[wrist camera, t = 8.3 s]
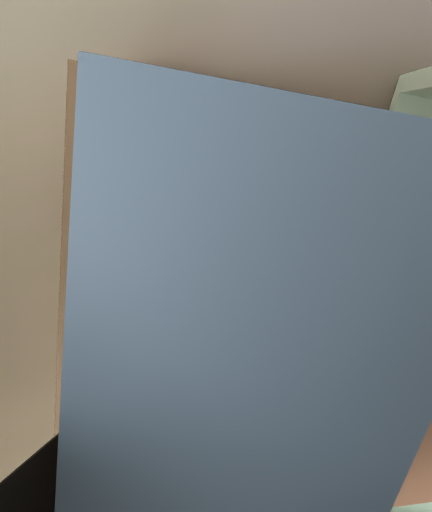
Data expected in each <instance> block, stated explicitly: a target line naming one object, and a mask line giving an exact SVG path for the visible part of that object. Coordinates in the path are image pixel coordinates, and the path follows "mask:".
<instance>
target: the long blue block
mask: <svg viewBox="0 0 432 512" xmlns="http://www.w3.org/2000/svg"><path fill="white" fill-rule="evenodd" d="M431 421H432V118H427V117H422V116H416V115H411V114H406V113H401V112H395V111H390V110H385V109H380V108H375V107H369V106H364V105H359V104H354V103H349V102H343V101H338V100H333V99H328V98H322V97H317V96H312V95H307V94H302V93H296V92H291V91H286V90H281V89H275V88H270V87H265V86H260V85H255V84H249V83H244V82H239V81H234V80H229V79H223V78H218V77H213V76H208V75H202V74H197V73H192V72H187V71H182V70H176V69H171V68H166V67H161V66H155V65H150V64H145V63H140V62H135V61H129V60H124V59H119V58H114V57H109V56H103V55H98V54H93V53H88V52H82V51H78V65H77V85H76V104H75V124H74V143H73V163H72V182H71V202H70V221H69V241H68V260H67V280H66V299H65V319H64V338H63V358H62V377H61V397H60V416H59V436H58V455H57V475H56V494H55V512H391V509H392V507H393V505H394V503H395V501H396V498H397V496H398V494H399V492H400V489H401V487H402V485H403V483H404V481H405V478H406V476H407V474H408V472H409V469H410V467H411V465H412V463H413V461H414V458H415V456H416V454H417V452H418V450H419V447H420V445H421V443H422V441H423V438H424V436H425V434H426V432H427V430H428V427H429V425H430V423H431Z"/></svg>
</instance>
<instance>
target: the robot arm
mask: <svg viewBox="0 0 432 512" xmlns="http://www.w3.org/2000/svg"><path fill="white" fill-rule="evenodd" d="M58 436H59V433H58V434H57V435H56V436H54V437H53V438H52V439H51V440H50V441H49V442H47V443H46V444H45V445H44V446H43V447H41V448H40V449H39V450H38V451H37V452H36V453H34V454H33V455H32V456H31V457H30V458H29V459H27V460H26V461H25V462H24V463H23V464H21V465H20V466H19V467H18V468H17V469H16V470H14V471H13V472H12V473H11V474H10V475H9V476H7V477H6V478H5V479H4V480H3V481H2V482H0V512H55V494H56V475H57V455H58Z"/></svg>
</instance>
